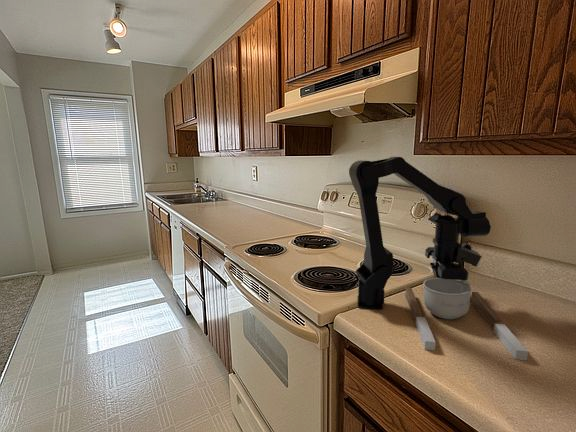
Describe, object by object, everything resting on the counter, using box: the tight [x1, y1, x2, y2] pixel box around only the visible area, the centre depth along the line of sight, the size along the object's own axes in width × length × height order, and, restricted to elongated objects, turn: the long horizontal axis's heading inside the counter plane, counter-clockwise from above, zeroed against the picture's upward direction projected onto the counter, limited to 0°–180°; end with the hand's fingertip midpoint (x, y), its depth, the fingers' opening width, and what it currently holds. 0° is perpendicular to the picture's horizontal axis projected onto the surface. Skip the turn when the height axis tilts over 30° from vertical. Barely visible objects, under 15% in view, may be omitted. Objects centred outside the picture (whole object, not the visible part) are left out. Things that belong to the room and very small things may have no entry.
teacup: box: [422, 277, 472, 320], centre depth 79 cm, size 14×11×8 cm
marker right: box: [493, 323, 529, 361], centre depth 66 cm, size 2×10×2 cm, turn 168°
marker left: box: [415, 316, 437, 351], centre depth 69 cm, size 2×10×2 cm, turn 168°
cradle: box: [404, 286, 503, 329], centre depth 80 cm, size 19×15×2 cm
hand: (442, 290), depth 86 cm, fingers closed
